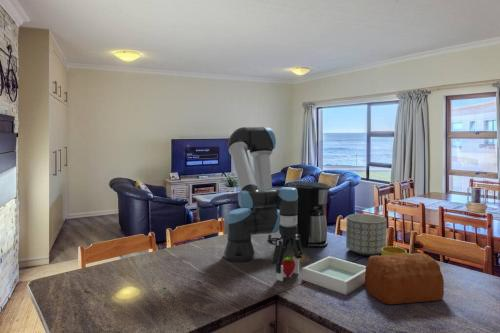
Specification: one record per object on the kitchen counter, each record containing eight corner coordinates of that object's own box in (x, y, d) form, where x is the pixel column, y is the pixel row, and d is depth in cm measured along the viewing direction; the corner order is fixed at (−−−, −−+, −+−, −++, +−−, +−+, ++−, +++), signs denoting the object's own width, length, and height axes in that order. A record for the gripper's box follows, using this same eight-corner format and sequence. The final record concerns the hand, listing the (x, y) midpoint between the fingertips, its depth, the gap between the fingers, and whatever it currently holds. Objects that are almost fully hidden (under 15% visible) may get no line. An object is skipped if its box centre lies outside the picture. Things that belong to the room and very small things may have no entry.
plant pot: (376, 267, 158) (377, 246, 157) (398, 266, 159) (399, 245, 158) (387, 276, 148) (388, 254, 147) (411, 275, 149) (411, 253, 148)
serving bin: (302, 279, 145) (302, 268, 145) (329, 266, 159) (329, 256, 159) (346, 295, 131) (346, 282, 130) (370, 279, 145) (371, 267, 145)
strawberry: (294, 273, 152) (294, 250, 151) (296, 280, 144) (296, 257, 143) (280, 273, 152) (280, 251, 151) (281, 280, 144) (281, 257, 143)
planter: (389, 251, 180) (390, 216, 179) (380, 262, 164) (382, 224, 163) (352, 245, 190) (352, 212, 189) (341, 255, 174) (341, 219, 173)
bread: (447, 301, 126) (449, 261, 125) (384, 307, 122) (386, 265, 121) (417, 282, 143) (418, 246, 141) (361, 286, 139) (362, 249, 137)
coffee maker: (335, 246, 188) (336, 184, 185) (277, 251, 181) (277, 186, 178) (318, 235, 210) (319, 179, 207) (266, 238, 203) (266, 181, 200)
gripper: (277, 231, 135) (277, 287, 137) (311, 221, 151) (311, 271, 153) (263, 228, 140) (263, 281, 142) (297, 218, 156) (297, 267, 158)
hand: (288, 276), depth 148 cm, fingers open, 10 cm apart
